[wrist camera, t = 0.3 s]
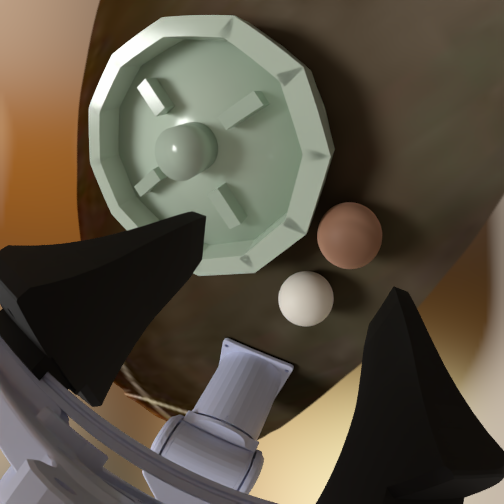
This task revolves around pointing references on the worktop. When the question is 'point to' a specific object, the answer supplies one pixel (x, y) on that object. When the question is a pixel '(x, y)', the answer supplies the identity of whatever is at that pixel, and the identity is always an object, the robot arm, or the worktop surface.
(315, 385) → the worktop surface
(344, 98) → the worktop surface
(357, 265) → the terracotta bead
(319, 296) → the ivory bead
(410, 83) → the worktop surface
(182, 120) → the tray
